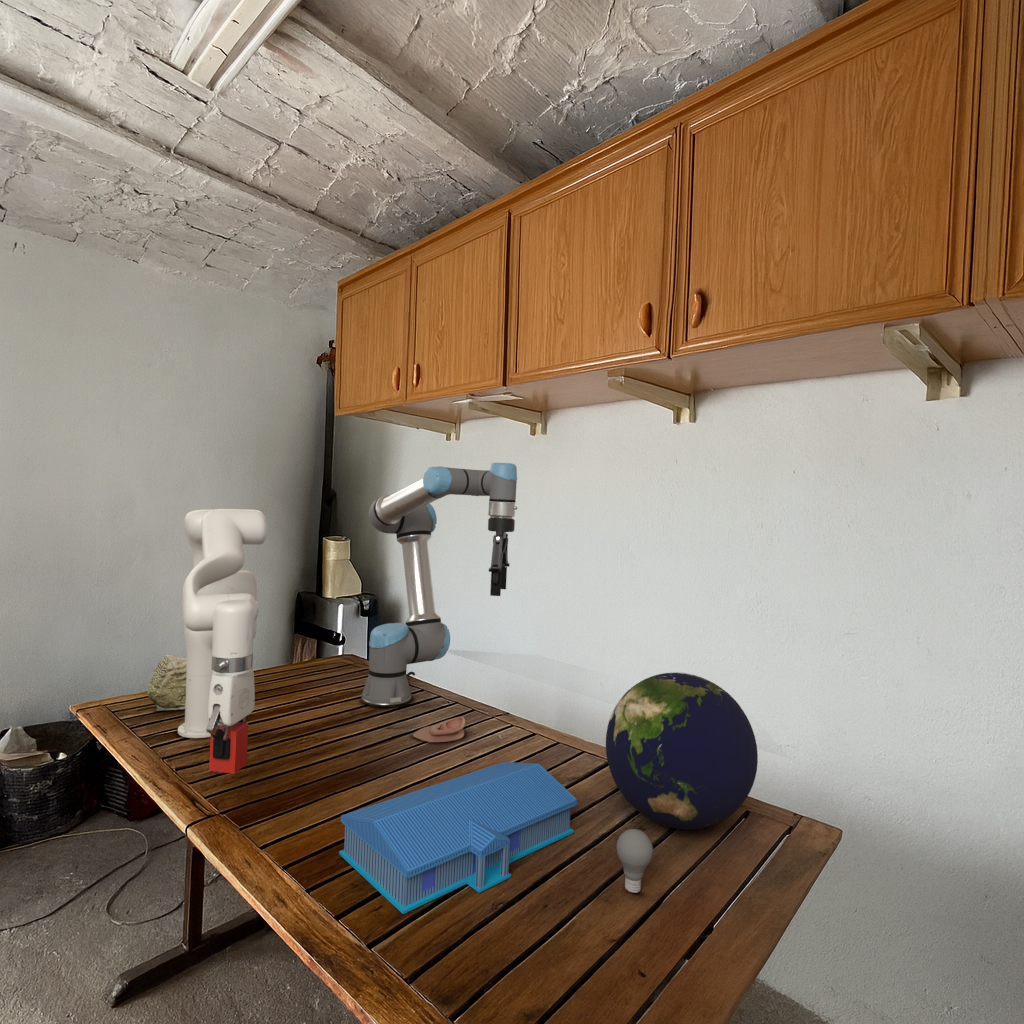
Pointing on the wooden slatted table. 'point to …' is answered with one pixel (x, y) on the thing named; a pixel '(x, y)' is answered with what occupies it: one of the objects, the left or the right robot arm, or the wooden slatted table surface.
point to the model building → (456, 832)
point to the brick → (232, 750)
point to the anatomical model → (442, 731)
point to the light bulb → (634, 857)
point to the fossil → (169, 683)
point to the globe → (681, 751)
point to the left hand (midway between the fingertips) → (228, 751)
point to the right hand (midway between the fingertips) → (498, 592)
